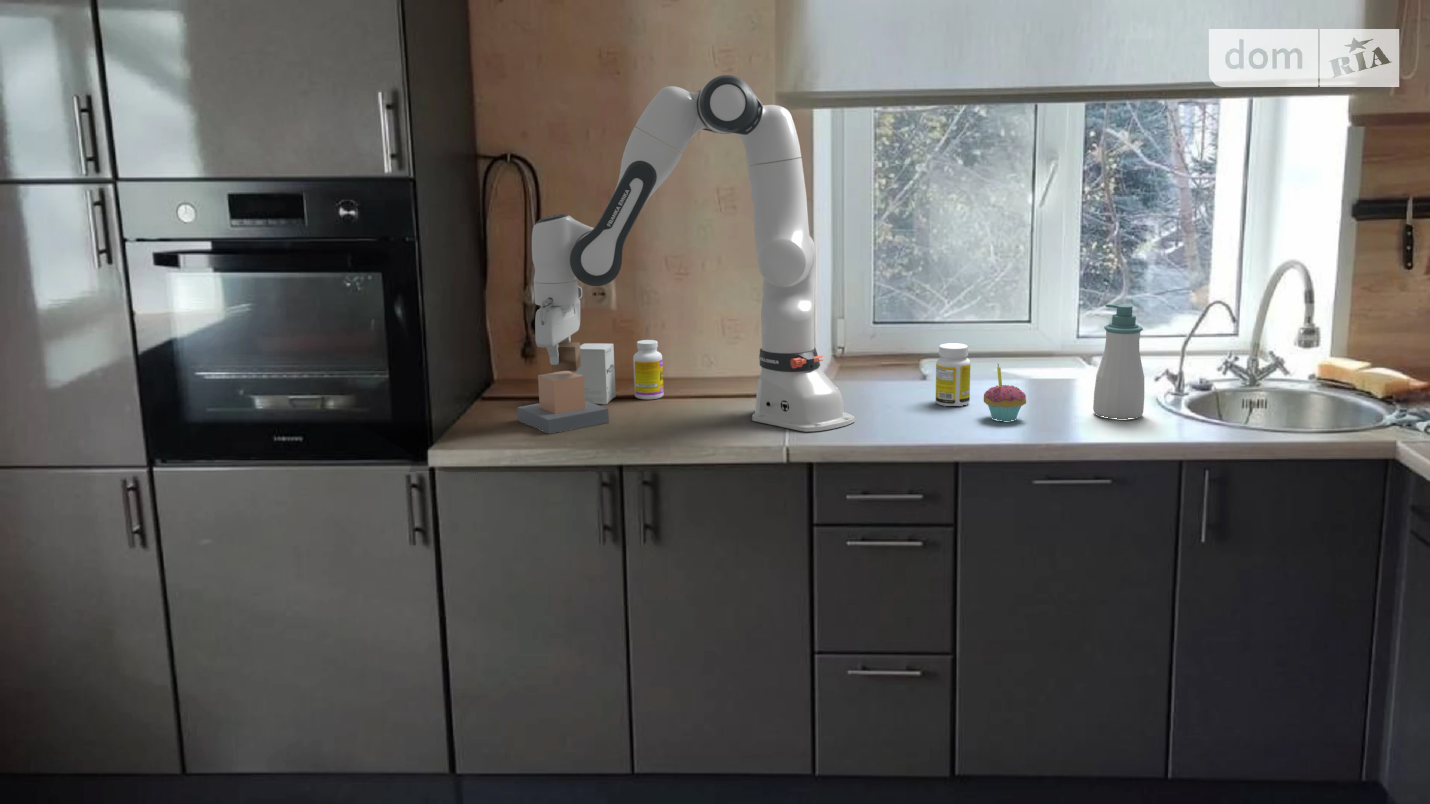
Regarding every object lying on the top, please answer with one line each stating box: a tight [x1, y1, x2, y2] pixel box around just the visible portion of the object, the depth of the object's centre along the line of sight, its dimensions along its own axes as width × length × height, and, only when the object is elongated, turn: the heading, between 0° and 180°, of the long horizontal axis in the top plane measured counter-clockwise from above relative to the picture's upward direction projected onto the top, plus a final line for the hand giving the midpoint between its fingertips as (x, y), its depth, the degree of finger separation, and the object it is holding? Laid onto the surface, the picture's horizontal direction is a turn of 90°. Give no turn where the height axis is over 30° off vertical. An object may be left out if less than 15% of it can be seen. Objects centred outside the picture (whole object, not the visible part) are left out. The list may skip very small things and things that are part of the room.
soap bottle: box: [1092, 303, 1145, 419], centre depth 233 cm, size 10×10×23 cm
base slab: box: [517, 401, 610, 434], centre depth 241 cm, size 14×14×3 cm
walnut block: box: [551, 341, 581, 372], centre depth 237 cm, size 5×5×5 cm
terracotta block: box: [537, 371, 585, 414], centre depth 239 cm, size 7×7×7 cm
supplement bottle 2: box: [935, 342, 971, 407], centre depth 247 cm, size 7×7×13 cm
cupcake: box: [983, 363, 1027, 421], centre depth 234 cm, size 9×8×12 cm
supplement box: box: [574, 342, 616, 405], centre depth 257 cm, size 7×7×13 cm
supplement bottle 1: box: [632, 339, 665, 401], centre depth 260 cm, size 7×7×13 cm
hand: (559, 360), depth 238 cm, fingers closed on walnut block, 5 cm apart
